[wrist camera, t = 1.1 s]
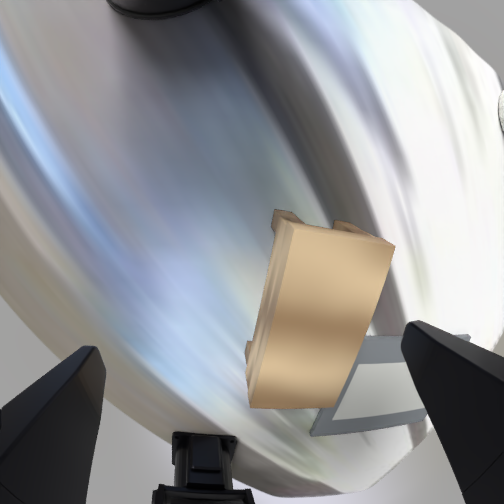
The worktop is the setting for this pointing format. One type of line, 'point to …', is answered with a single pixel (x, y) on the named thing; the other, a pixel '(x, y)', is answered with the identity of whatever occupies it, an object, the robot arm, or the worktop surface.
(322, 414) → the charcoal mat
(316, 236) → the oak stool
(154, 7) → the french press
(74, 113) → the worktop surface
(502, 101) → the paper towel roll
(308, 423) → the worktop surface
